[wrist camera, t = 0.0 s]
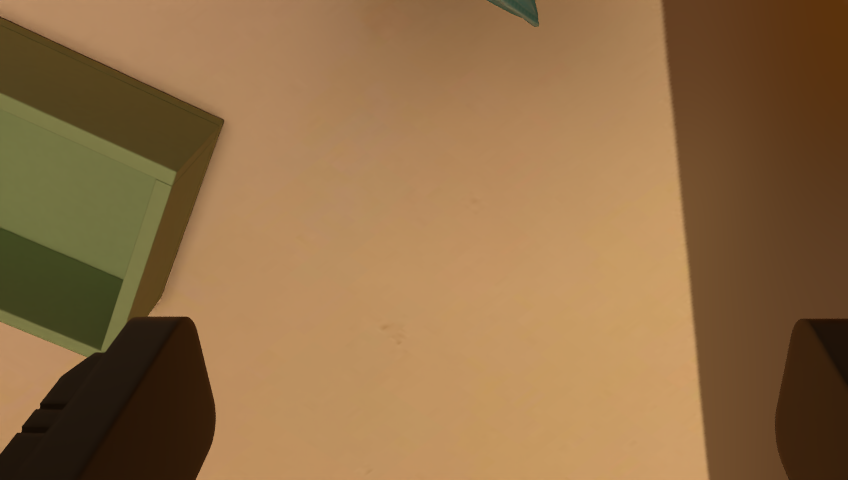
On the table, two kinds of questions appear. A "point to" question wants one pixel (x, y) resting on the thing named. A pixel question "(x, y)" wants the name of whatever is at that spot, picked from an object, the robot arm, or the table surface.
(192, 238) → the table surface
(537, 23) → the tube
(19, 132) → the basket
